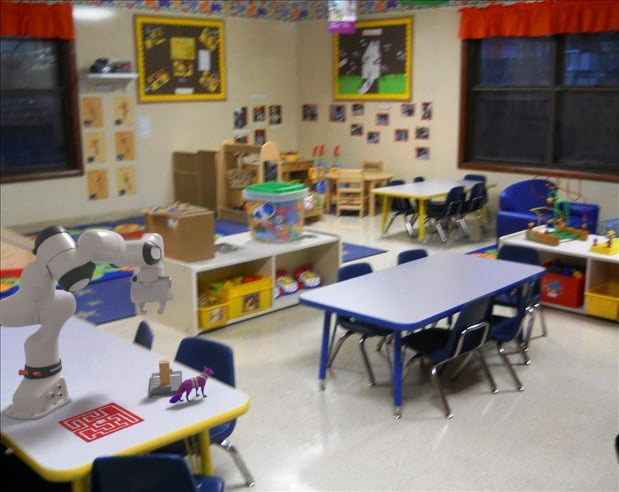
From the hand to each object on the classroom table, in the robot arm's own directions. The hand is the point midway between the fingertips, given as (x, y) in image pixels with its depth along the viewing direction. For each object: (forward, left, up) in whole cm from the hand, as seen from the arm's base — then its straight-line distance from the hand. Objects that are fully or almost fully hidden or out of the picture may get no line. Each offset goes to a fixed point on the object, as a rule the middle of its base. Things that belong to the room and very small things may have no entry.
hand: (151, 314), depth 267 cm
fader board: (-7, -8, -24) cm, 26 cm away
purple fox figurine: (-16, -22, -24) cm, 37 cm away
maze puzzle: (-38, 0, -25) cm, 46 cm away
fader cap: (-11, -9, -23) cm, 27 cm away
